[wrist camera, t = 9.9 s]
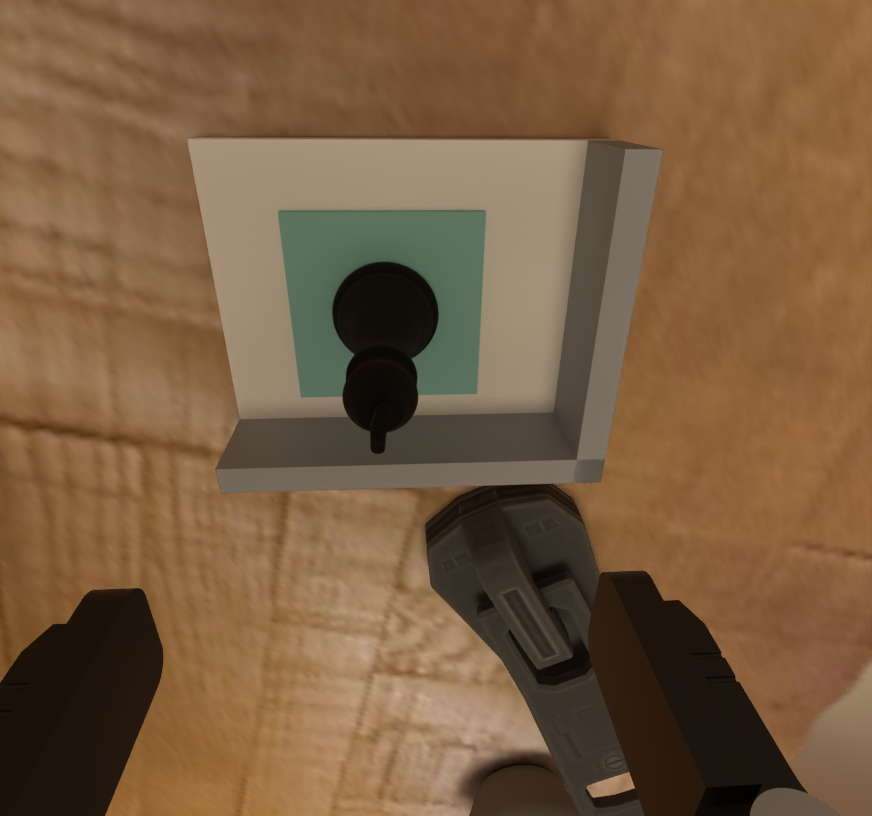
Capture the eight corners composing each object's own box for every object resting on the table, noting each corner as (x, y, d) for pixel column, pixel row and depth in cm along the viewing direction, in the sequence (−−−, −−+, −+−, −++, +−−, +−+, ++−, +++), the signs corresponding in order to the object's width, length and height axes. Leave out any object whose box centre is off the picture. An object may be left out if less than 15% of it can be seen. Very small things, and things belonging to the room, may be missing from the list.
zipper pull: (584, 843, 37) (402, 616, 25) (559, 741, 42) (401, 519, 31) (718, 803, 35) (588, 541, 24) (672, 703, 41) (551, 453, 29)
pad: (302, 393, 26) (300, 397, 25) (279, 210, 22) (277, 212, 21) (475, 389, 26) (477, 394, 26) (484, 210, 22) (486, 211, 22)
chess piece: (447, 270, 23) (476, 378, 14) (428, 367, 25) (444, 514, 16) (337, 252, 22) (297, 353, 13) (328, 353, 24) (288, 498, 16)
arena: (249, 430, 27) (220, 493, 23) (195, 136, 21) (142, 147, 17) (569, 422, 28) (600, 482, 24) (610, 138, 22) (662, 149, 18)
